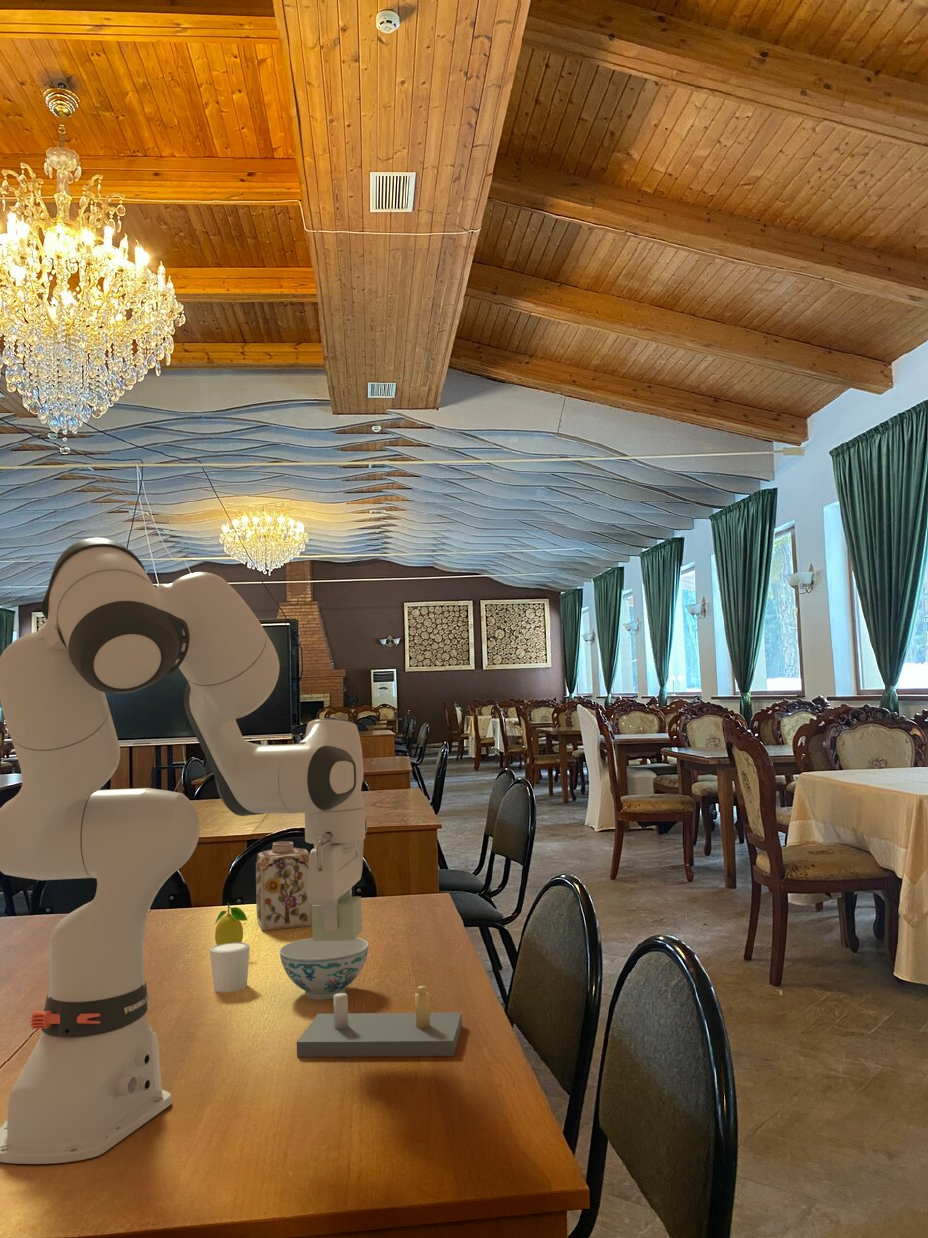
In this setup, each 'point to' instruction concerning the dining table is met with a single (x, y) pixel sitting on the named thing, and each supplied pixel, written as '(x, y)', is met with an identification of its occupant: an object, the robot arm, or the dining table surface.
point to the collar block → (348, 921)
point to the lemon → (230, 926)
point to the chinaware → (324, 965)
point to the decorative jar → (283, 887)
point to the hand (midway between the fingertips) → (337, 924)
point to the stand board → (381, 1032)
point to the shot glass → (230, 966)
